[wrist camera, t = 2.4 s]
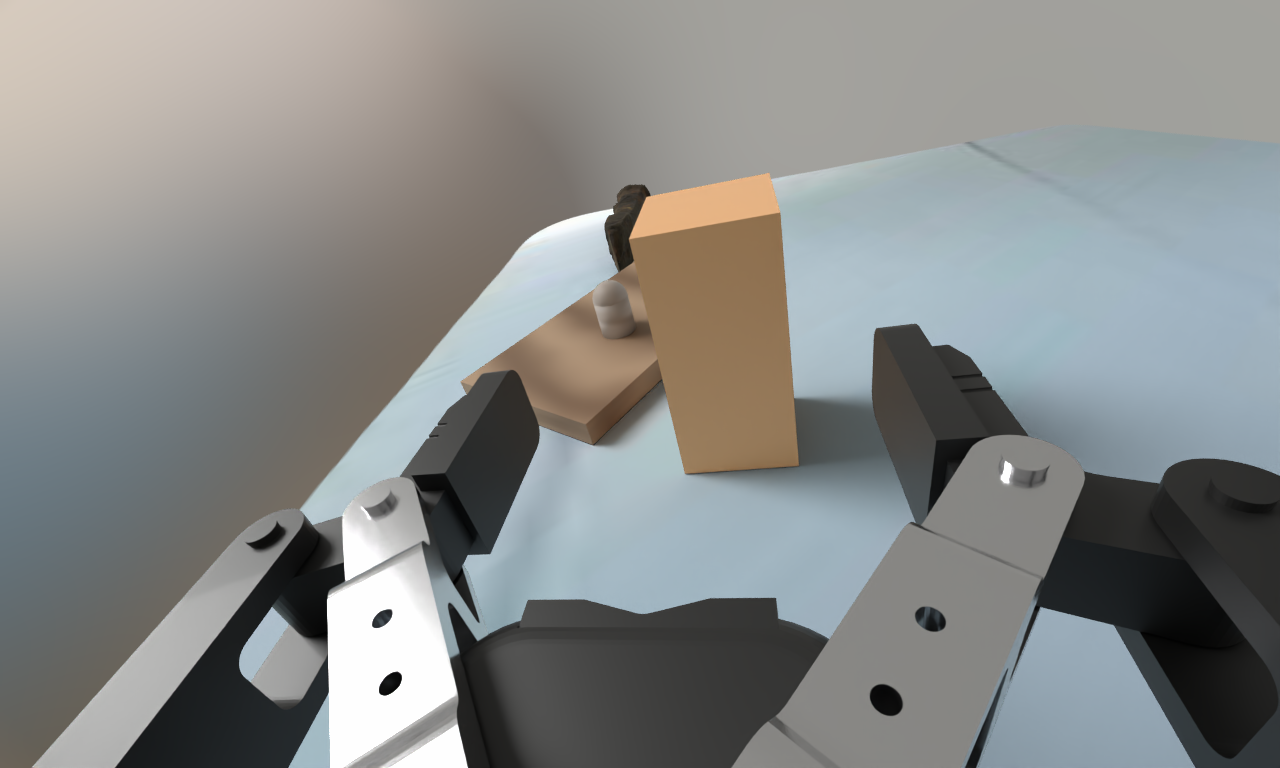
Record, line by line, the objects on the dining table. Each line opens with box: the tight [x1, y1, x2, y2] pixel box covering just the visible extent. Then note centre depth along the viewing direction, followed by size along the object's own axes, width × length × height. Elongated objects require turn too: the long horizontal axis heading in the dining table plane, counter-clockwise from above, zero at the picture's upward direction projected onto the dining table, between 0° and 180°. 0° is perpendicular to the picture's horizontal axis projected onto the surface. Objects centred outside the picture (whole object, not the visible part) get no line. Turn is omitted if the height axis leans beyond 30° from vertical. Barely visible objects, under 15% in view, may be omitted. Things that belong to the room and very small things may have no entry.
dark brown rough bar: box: [605, 185, 650, 272], centre depth 56 cm, size 19×4×5 cm, turn 173°
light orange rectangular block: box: [629, 173, 799, 474], centre depth 24 cm, size 5×5×12 cm
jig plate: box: [461, 262, 662, 445], centre depth 37 cm, size 20×12×5 cm, turn 143°
